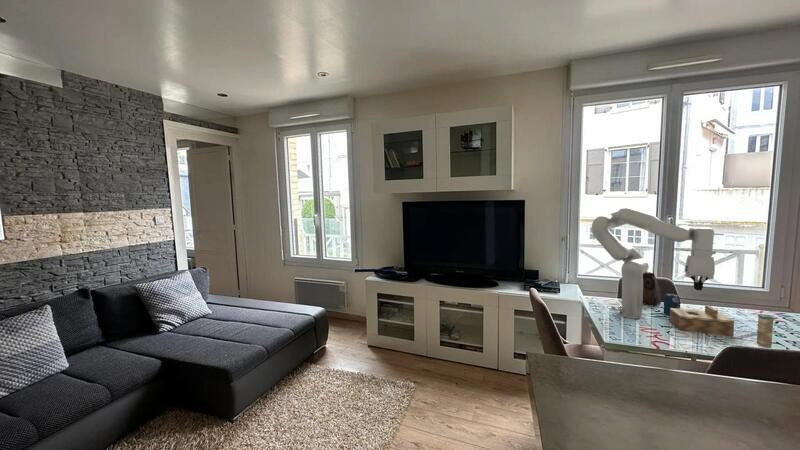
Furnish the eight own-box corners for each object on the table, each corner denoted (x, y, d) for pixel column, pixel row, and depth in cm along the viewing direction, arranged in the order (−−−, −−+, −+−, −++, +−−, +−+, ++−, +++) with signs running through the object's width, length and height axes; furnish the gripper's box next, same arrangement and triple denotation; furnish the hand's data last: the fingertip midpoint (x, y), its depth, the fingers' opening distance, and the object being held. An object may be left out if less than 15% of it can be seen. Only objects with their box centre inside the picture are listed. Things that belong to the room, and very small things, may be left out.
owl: (656, 307, 191) (658, 274, 190) (631, 302, 201) (632, 271, 199) (662, 302, 199) (663, 271, 198) (637, 297, 209) (639, 267, 207)
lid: (680, 317, 156) (680, 308, 156) (670, 309, 167) (670, 301, 167) (734, 323, 148) (734, 313, 148) (720, 314, 160) (720, 305, 159)
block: (760, 348, 139) (763, 316, 138) (755, 344, 142) (757, 313, 141) (771, 349, 138) (774, 317, 137) (766, 345, 141) (768, 314, 140)
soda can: (681, 318, 173) (682, 297, 172) (665, 316, 176) (666, 295, 175) (677, 314, 179) (678, 293, 178) (661, 312, 182) (662, 292, 181)
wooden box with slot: (679, 332, 157) (680, 318, 156) (669, 323, 168) (670, 310, 167) (733, 338, 149) (734, 323, 149) (719, 328, 160) (720, 314, 160)
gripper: (716, 252, 156) (713, 289, 158) (678, 250, 161) (675, 286, 163) (725, 255, 149) (721, 293, 151) (685, 253, 154) (682, 290, 156)
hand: (697, 289), depth 157 cm, fingers closed
